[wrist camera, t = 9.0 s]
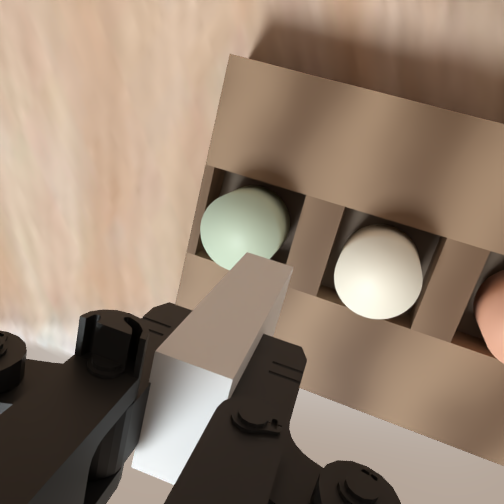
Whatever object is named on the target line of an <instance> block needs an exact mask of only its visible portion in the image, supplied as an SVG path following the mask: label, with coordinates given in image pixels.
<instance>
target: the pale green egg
mask: <svg viewBox="0 0 504 504" xmlns="http://www.w3.org/2000/svg"><path fill="white" fill-rule="evenodd" d="M289 229H290V217H289V213H288V210H287V207H286V205H285V204H284V202H283V201H282V199H281V198H280V197H279V196H278V195H277V194H276V193H274V192H273V191H271V190H270V189H268V188H265V187H262V186H256V185H250V186H244V187H241V188H239V189H237V190H234V191H232V192H230V193H228V194H225V195H223V196H221V197H219V198H217V199H216V200H214V201H213V202H212V203H211V204H210V205H209V206H208V208H207V209H206V211H205V212H204V215H203V217H202V220H201V226H200V233H201V240H202V243H203V246H204V248H205V250H206V252H207V253H208V255H209V256H210V257H211V259H212V260H213V261H214V262H216V263H217V264H218V265H220V266H221V267H223V268H225V269H227V270H231V269H232V268H233V267H234V266H235V264H236V263H237V262H238V261H239V260H240V259H241V258H242V257H243V256H244V255H245V254H246V253H247V252H248V253H251V254H255V255H258V256H261V257H264V258H267V259H270V258H271V257H272V256H273V255H274V254H275V253H276V251H277V250H278V249H279V248H280V247H281V246H282V245H283V243H284V242H285V240H286V238H287V236H288V233H289Z"/></svg>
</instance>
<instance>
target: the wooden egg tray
mask: <svg viewBox="0 0 504 504" xmlns="http://www.w3.org/2000/svg"><path fill="white" fill-rule="evenodd" d="M250 185H256V186H262V187H265V188H268V189H270V190H271V191H273V192H274V193H276V194H277V195H278V196H279V197H280V198H281V199H282V201H283V202H284V204H285V205H286V207H287V210H288V213H289V217H290V229H289V233H288V236H287V238H286V240H285V242H284V243H283V245H282V246H281V247H280V248H279V249H278V250H277V251H276V253H275V254H274V255H273V256H272V257H271V258H270V260H273V261H276V262H279V263H283V264H286V265H289V266H292V267H293V271H292V274H291V277H290V281H289V284H288V288H287V291H286V294H285V298H284V301H283V305H282V308H281V311H280V315H279V318H278V321H277V325H276V328H275V332H274V335H273V337H275V338H278V339H281V340H283V341H286V342H289V343H292V344H295V345H298V346H301V347H302V348H303V351H304V353H305V356H306V358H307V363H306V366H305V370H304V373H303V377H302V380H301V384H300V387H299V388H301V389H304V390H307V391H309V392H312V393H314V394H317V395H320V396H322V397H325V398H327V399H330V400H333V401H335V402H338V403H341V404H343V405H346V406H348V407H351V408H353V409H356V410H359V411H361V412H364V413H367V414H369V415H372V416H374V417H377V418H380V419H382V420H385V421H387V422H391V423H393V424H396V425H398V426H400V427H403V428H406V429H408V430H411V431H414V432H416V433H419V434H421V435H424V436H427V437H429V438H432V439H434V440H437V441H440V442H442V443H445V444H447V445H450V446H453V447H455V448H458V449H461V450H463V451H466V452H469V453H471V454H474V455H476V456H479V457H481V458H484V459H487V460H489V461H492V462H495V463H497V464H500V465H502V466H504V364H503V363H502V362H500V361H499V360H498V359H497V358H496V357H495V356H494V355H493V354H492V353H491V352H490V350H489V348H488V347H487V344H486V342H485V340H484V337H483V335H482V333H481V330H480V328H479V325H478V323H477V321H476V318H475V315H474V310H473V302H474V297H475V295H476V292H477V290H478V288H479V287H480V286H481V284H482V283H483V282H484V281H485V280H486V279H487V278H489V277H490V276H492V275H493V274H495V273H497V272H499V271H502V270H504V124H502V123H499V122H495V121H491V120H487V119H483V118H479V117H475V116H471V115H467V114H463V113H459V112H455V111H452V110H448V109H444V108H440V107H436V106H432V105H428V104H424V103H420V102H416V101H412V100H409V99H405V98H401V97H397V96H393V95H389V94H385V93H381V92H377V91H373V90H369V89H365V88H362V87H358V86H354V85H350V84H346V83H342V82H338V81H334V80H330V79H326V78H322V77H318V76H315V75H311V74H307V73H303V72H299V71H295V70H291V69H287V68H283V67H279V66H275V65H271V64H268V63H264V62H260V61H256V60H252V59H248V58H244V57H240V56H236V55H232V54H230V55H229V60H228V65H227V69H226V74H225V78H224V83H223V88H222V92H221V97H220V101H219V106H218V110H217V115H216V120H215V124H214V129H213V133H212V138H211V143H210V147H209V152H208V156H207V161H206V166H205V170H204V175H203V179H202V184H201V189H200V193H199V198H198V202H197V207H196V211H195V216H194V221H193V225H192V230H191V234H190V239H189V244H188V248H187V253H186V257H185V262H184V267H183V271H182V276H181V280H180V285H179V289H178V294H177V299H176V303H175V305H178V306H181V307H184V308H187V309H190V310H194V309H195V308H196V306H197V305H198V304H199V303H200V302H201V301H202V300H203V299H204V298H205V297H206V296H207V295H208V294H209V292H210V291H211V290H212V289H213V288H214V287H215V286H216V285H217V284H218V283H219V282H220V281H221V280H222V278H223V277H224V276H225V275H226V274H227V273H228V272H229V271H230V270H227V269H225V268H223V267H221V266H220V265H218V264H217V263H216V262H214V261H213V260H212V259H211V257H210V256H209V255H208V253H207V252H206V250H205V248H204V246H203V243H202V240H201V233H200V226H201V220H202V217H203V215H204V212H205V211H206V209H207V208H208V206H209V205H210V204H211V203H212V202H213V201H214V200H216V199H217V198H219V197H221V196H223V195H225V194H228V193H230V192H232V191H234V190H237V189H239V188H241V187H244V186H250ZM376 224H382V225H389V226H392V227H395V228H397V229H399V230H401V231H403V232H404V233H405V234H407V235H408V236H409V237H410V239H411V240H412V241H413V243H414V244H415V246H416V248H417V251H418V255H419V260H420V265H421V270H422V277H423V282H422V288H421V292H420V294H419V296H418V298H417V300H416V301H415V303H414V304H413V305H412V306H411V307H410V308H409V309H408V310H407V311H405V312H404V313H402V314H400V315H398V316H395V317H392V318H388V319H371V318H366V317H363V316H361V315H358V314H357V313H355V312H353V311H352V310H350V309H349V308H348V307H347V306H346V305H345V304H344V303H343V302H342V300H341V299H340V297H339V295H338V293H337V291H336V288H335V283H334V272H335V267H336V264H337V262H338V259H339V256H340V254H341V251H342V249H343V246H344V244H345V243H346V241H347V240H348V238H349V237H350V236H351V235H352V234H353V233H355V232H356V231H358V230H359V229H361V228H364V227H366V226H370V225H376Z"/></svg>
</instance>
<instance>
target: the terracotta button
mask: <svg viewBox="0 0 504 504" xmlns="http://www.w3.org/2000/svg"><path fill="white" fill-rule="evenodd" d="M473 310H474V315H475V318H476V321H477V323H478V325H479V328H480V330H481V333H482V335H483V337H484V340H485V342H486V344H487V347H488V348H489V350H490V352H491V353H492V354H493V355H494V356H495V357H496V358H497V359H498V360H499V361H500V362H502V363H503V364H504V270H502V271H499V272H497V273H495V274H493V275H492V276H490V277H489V278H487V279H486V280H485V281H484V282H483V283H482V284H481V286H480V287H479V288H478V290H477V292H476V295H475V297H474V302H473Z"/></svg>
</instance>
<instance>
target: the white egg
mask: <svg viewBox="0 0 504 504" xmlns="http://www.w3.org/2000/svg"><path fill="white" fill-rule="evenodd" d="M422 282H423V277H422V270H421V265H420V260H419V255H418V251H417V248H416V246H415V244H414V243H413V241H412V240H411V239H410V237H409V236H408V235H407V234H405V233H404V232H403V231H401V230H399V229H397V228H395V227H392V226H389V225H382V224H376V225H370V226H366V227H364V228H361V229H359V230H358V231H356V232H355V233H353V234H352V235H351V236H350V237H349V238H348V240H347V241H346V243H345V244H344V246H343V249H342V251H341V254H340V256H339V259H338V262H337V264H336V267H335V272H334V283H335V288H336V291H337V293H338V295H339V297H340V299H341V300H342V302H343V303H344V304H345V305H346V306H347V307H348V308H349V309H350V310H352V311H353V312H355V313H357V314H358V315H361V316H363V317H366V318H371V319H388V318H392V317H395V316H398V315H400V314H402V313H404V312H405V311H407V310H408V309H409V308H410V307H411V306H412V305H413V304H414V303H415V301H416V300H417V298H418V296H419V294H420V292H421V288H422Z"/></svg>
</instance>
